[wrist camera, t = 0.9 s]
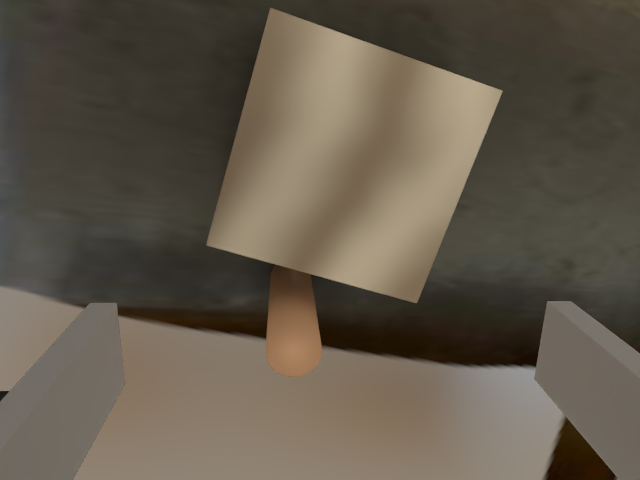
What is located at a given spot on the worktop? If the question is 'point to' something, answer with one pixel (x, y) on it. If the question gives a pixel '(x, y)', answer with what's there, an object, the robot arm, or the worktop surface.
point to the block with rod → (292, 323)
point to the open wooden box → (348, 159)
